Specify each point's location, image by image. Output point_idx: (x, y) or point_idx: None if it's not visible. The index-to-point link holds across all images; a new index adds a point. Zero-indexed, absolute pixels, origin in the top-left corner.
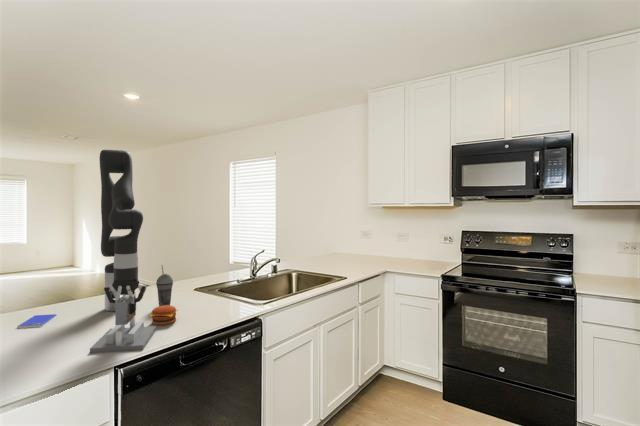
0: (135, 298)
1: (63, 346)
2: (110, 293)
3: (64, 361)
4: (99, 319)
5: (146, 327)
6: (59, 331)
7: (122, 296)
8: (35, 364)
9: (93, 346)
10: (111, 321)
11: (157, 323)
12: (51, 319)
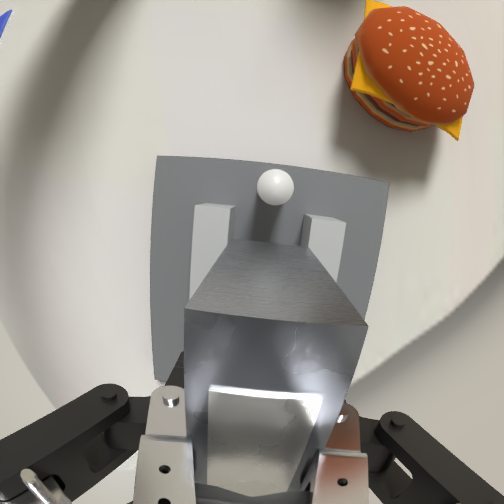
0: (352, 440)
1: (56, 277)
2: (79, 490)
3: None
4: (104, 5)
5: (344, 189)
6: (13, 124)
7: (187, 423)
8: (65, 380)
9: (158, 365)
10: (146, 20)
11: (381, 117)
12: (1, 37)
